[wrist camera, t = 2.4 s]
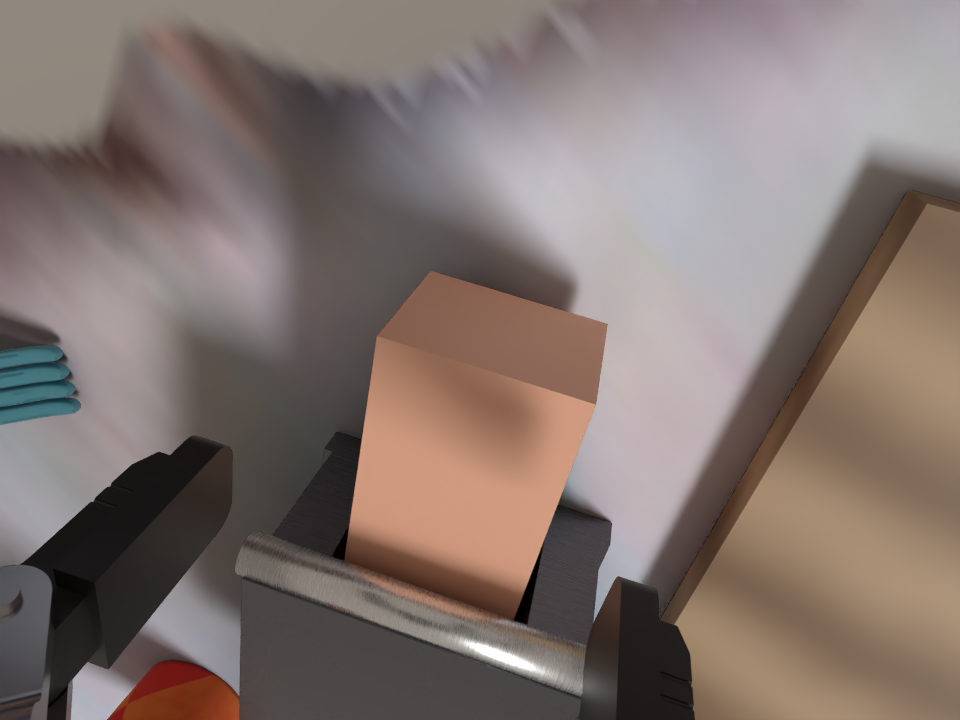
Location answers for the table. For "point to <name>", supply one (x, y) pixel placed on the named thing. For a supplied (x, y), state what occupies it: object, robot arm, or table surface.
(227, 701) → the paper cup
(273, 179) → the table surface
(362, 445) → the block
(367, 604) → the dispenser
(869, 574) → the board
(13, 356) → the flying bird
